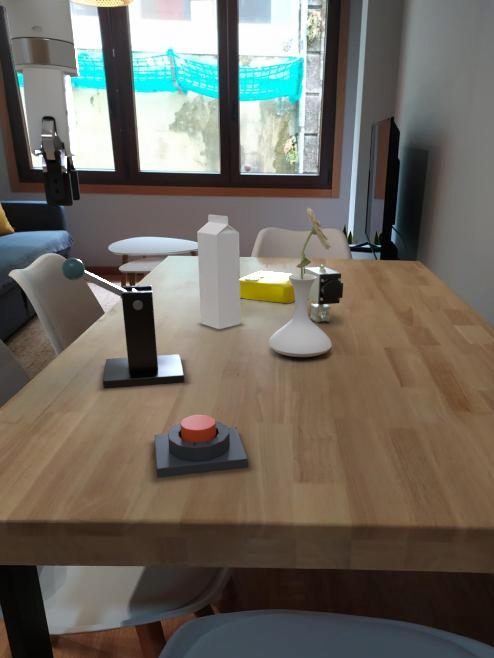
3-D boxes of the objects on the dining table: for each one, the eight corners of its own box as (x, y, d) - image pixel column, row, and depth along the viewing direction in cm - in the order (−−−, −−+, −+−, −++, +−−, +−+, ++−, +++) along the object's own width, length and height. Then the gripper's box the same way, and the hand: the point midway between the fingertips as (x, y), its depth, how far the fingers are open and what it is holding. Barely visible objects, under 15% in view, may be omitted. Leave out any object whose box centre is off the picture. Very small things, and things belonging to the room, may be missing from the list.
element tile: (289, 304, 131) (290, 284, 129) (234, 297, 136) (233, 278, 134) (310, 291, 144) (311, 273, 142) (259, 286, 149) (259, 268, 147)
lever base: (103, 388, 82) (92, 298, 76) (106, 365, 90) (97, 283, 85) (184, 382, 84) (179, 294, 79) (179, 360, 93) (175, 280, 88)
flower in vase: (323, 366, 92) (330, 212, 83) (259, 358, 95) (260, 209, 86) (339, 343, 104) (347, 206, 94) (282, 337, 107) (284, 204, 97)
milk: (222, 318, 118) (220, 213, 110) (241, 324, 115) (240, 215, 106) (200, 323, 114) (195, 214, 106) (218, 330, 110) (215, 217, 102)
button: (182, 445, 61) (181, 431, 60) (180, 429, 64) (179, 416, 63) (218, 441, 62) (217, 428, 61) (213, 426, 65) (213, 413, 64)
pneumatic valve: (321, 328, 113) (323, 270, 108) (299, 314, 123) (301, 260, 118) (344, 326, 115) (348, 269, 110) (322, 312, 125) (324, 259, 120)
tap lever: (56, 275, 77) (65, 255, 76) (59, 271, 80) (68, 252, 79) (141, 316, 82) (151, 298, 82) (141, 311, 85) (150, 293, 84)
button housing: (157, 478, 59) (155, 454, 58) (155, 443, 66) (153, 421, 65) (247, 467, 61) (247, 444, 60) (236, 435, 69) (235, 413, 67)
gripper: (26, 68, 75) (45, 198, 82) (-3, 46, 60) (24, 208, 67) (83, 71, 77) (97, 198, 84) (69, 51, 62) (88, 208, 68)
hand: (65, 202), depth 75 cm, fingers open, 9 cm apart
